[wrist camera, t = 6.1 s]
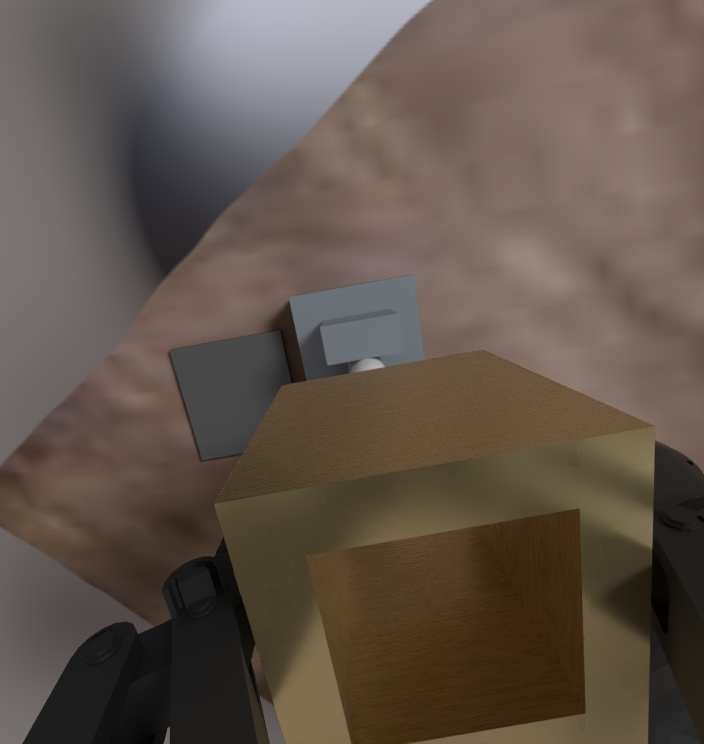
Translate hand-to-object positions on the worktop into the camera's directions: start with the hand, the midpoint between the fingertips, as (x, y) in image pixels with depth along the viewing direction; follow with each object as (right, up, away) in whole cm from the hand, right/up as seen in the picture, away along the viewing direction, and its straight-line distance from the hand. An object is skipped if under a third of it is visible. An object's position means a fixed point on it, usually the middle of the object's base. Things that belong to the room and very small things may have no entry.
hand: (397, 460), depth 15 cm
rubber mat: (-13, +1, +22) cm, 26 cm away
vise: (-1, +5, +22) cm, 23 cm away
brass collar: (0, 0, 0) cm, 0 cm away
